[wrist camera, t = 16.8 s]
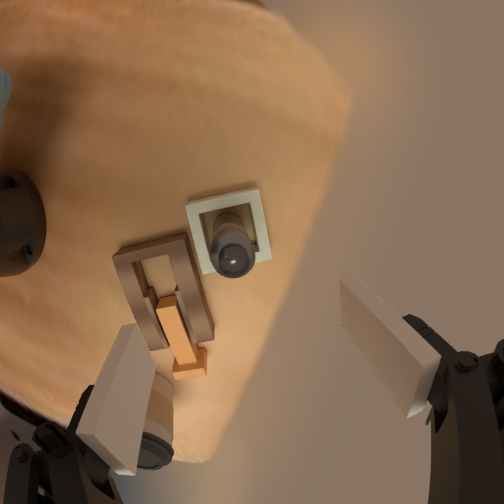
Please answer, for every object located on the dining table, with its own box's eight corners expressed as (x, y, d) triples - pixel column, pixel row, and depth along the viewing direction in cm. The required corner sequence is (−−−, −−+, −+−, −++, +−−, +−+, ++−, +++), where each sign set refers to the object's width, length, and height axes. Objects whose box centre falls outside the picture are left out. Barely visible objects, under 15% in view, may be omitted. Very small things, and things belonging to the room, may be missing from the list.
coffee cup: (153, 358, 37) (134, 437, 23) (191, 393, 40) (187, 469, 26) (116, 378, 38) (91, 448, 24) (152, 409, 41) (141, 478, 27)
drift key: (153, 299, 34) (146, 316, 30) (185, 293, 35) (181, 309, 30) (178, 360, 38) (175, 380, 34) (206, 355, 38) (206, 375, 34)
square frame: (187, 201, 31) (184, 205, 29) (255, 186, 32) (259, 189, 29) (204, 265, 34) (202, 274, 31) (267, 251, 34) (272, 259, 31)
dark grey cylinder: (210, 216, 32) (205, 245, 21) (240, 210, 32) (252, 234, 21) (217, 245, 33) (216, 288, 22) (246, 239, 34) (261, 278, 22)
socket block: (119, 249, 32) (111, 256, 29) (186, 232, 32) (183, 239, 30) (153, 338, 36) (149, 350, 33) (214, 327, 37) (214, 339, 34)
